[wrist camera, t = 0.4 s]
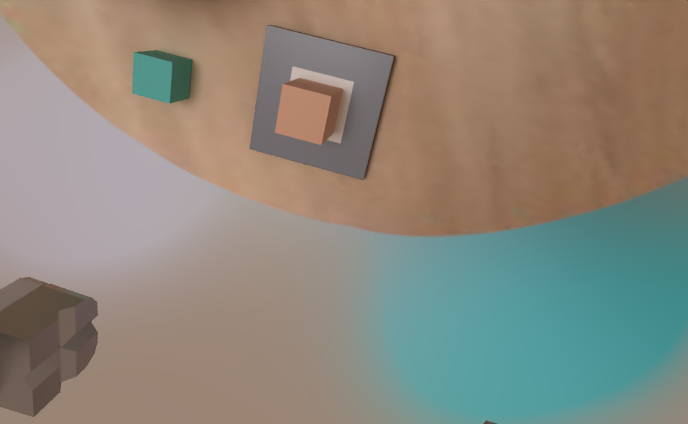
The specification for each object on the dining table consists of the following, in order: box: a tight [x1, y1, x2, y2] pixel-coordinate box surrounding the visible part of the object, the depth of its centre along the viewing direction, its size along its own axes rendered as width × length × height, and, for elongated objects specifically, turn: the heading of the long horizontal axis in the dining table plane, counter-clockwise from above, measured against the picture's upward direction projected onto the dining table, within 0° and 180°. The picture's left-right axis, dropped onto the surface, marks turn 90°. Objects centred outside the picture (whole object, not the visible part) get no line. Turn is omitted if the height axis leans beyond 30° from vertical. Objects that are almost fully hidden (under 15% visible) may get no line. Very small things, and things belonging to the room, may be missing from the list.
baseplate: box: [250, 25, 395, 180], centre depth 53 cm, size 14×14×1 cm
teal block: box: [133, 50, 192, 103], centre depth 54 cm, size 4×4×4 cm
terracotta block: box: [275, 78, 343, 145], centre depth 50 cm, size 5×5×6 cm
